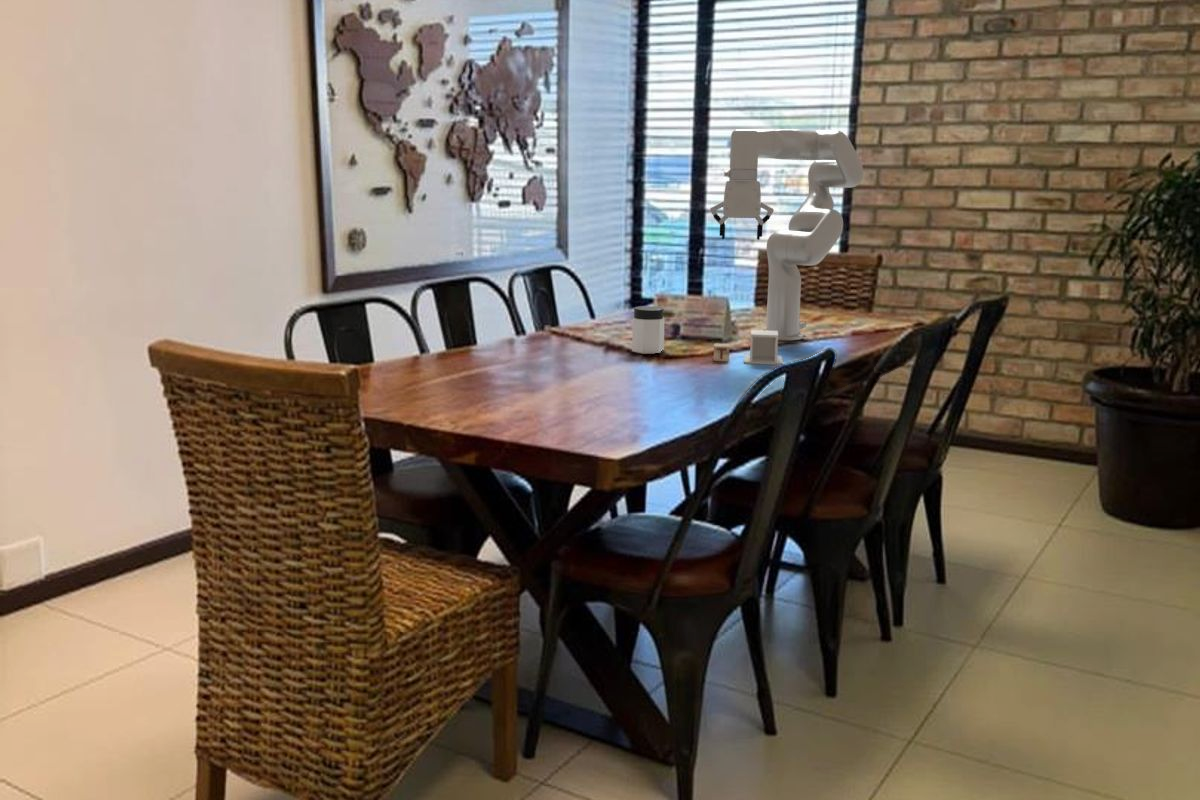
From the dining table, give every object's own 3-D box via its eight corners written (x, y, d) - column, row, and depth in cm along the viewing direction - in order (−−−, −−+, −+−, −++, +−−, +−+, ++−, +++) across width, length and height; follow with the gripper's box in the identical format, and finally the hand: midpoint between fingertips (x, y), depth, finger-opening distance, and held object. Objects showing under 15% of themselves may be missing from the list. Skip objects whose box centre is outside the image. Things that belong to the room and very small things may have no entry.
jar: (670, 352, 283) (671, 308, 280) (647, 355, 278) (648, 311, 275) (648, 347, 290) (649, 305, 287) (626, 350, 285) (627, 307, 282)
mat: (744, 356, 278) (744, 354, 278) (781, 357, 276) (781, 355, 276) (743, 363, 268) (743, 361, 268) (782, 364, 267) (782, 363, 267)
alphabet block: (749, 355, 276) (751, 330, 274) (776, 356, 275) (777, 330, 273) (749, 360, 269) (751, 334, 268) (776, 361, 268) (778, 335, 267)
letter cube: (713, 358, 275) (714, 343, 275) (728, 358, 275) (729, 343, 274) (713, 361, 271) (714, 346, 271) (728, 361, 271) (729, 346, 270)
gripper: (710, 175, 278) (708, 239, 282) (775, 176, 276) (772, 240, 280) (712, 175, 286) (709, 237, 290) (775, 176, 283) (772, 238, 287)
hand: (740, 239), depth 285 cm, fingers open, 9 cm apart
